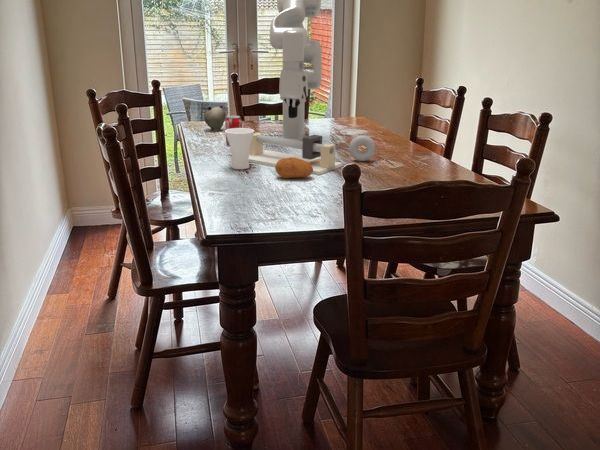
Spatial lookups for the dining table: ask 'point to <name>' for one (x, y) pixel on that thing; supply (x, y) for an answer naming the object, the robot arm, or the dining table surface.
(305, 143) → the collar
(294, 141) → the pipe stand
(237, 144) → the cup
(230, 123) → the soda can
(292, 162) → the potato
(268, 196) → the dining table surface
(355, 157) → the donut
